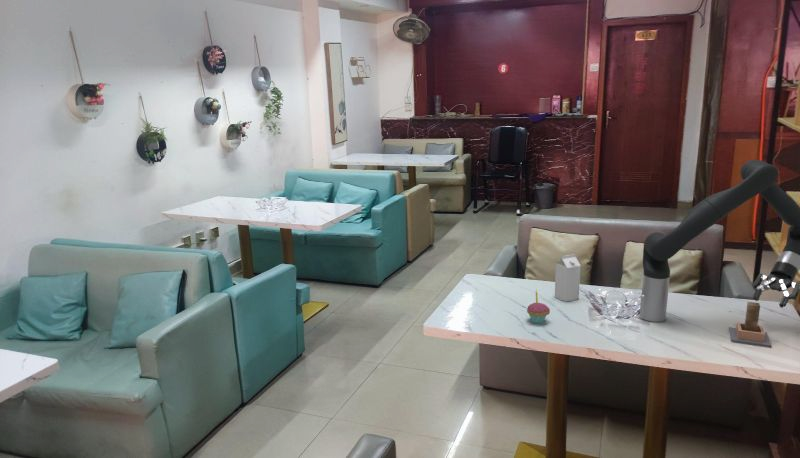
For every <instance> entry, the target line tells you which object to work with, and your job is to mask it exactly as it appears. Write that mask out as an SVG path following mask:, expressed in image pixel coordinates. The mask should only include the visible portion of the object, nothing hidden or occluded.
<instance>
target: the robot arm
mask: <svg viewBox="0 0 800 458" xmlns="http://www.w3.org/2000/svg"><path fill="white" fill-rule="evenodd" d="M779 176H780V175H779V170H778V168H777V167H775V166H774V165H773V164H771V163H768V162H766V161H764V160H760V159H750V160H747V161H746V162H745V163H744V164H743V165H742V166H741V167H740V178H741V179H742V181H741V182H739V183H737V184H736V185H734V186H733V187H730V188H728V189H725V190H722V191H719V192H716V193H713V194H711V195H709V196H707V197H705V198H704V199H702V200H701V201H699V202H698V203H696V204H695V206H693V207H692V208H690V210H689V212H687V214H686V216H685V217H684V219H682V221H681V222H680V223H679V224H678V225H677V226H676V227H674V228H673V229H672V230H670V231H669V232H666V233H665V234H664V233H662V232H652V233H650V234H649V235H647V237H645V240H644V241H643V242H644V243H643V251H642V267H643V277H642V285H641V286H642V287H641V297H640V307H639V319H641V320H645V321H647V322H653V323H662V322H665V321H666V318H667V309H668V308H667V307H668V297H669V288H670V277H671V267H670V265H669V259H671V258H673V257H674V256H675V255H677V253H678V252H679V251H681V250H682V249H683V248H684V247H685V246H686V245H687V244H689V243H690V242H692V241H693V240H694V239H695V238H697V237H698V236H699V235H701V234H702V233H704V232H705V231H706V230H708V229H709V228H711V227H712V226H714V225H716V224H717V223H718V222H719V221H721V220H722V219H724V218H725V217H726V216H727V215H729V214H730V213H731V212H733V211H735V210H736V209H737V208H738V207H740V206H741V205H743V204H745V203H746V202H748V201H749V200H751V199H752V198H755V197H756V196H757V195H761V197H762V198H763V199H764V200H765V201H766V202H767V203H768V204H769V206H770V207H771V209H773V211H775V213H776V214H777V215H778V216H779V217H780V219H781V220H782V221H783V222H784V223H785V224H786V225H788V229H787V237H786V243H785V246H784V247H783V248H782V251H781V253H780V255H779V256H778V257H777V259H776V261H775V263H774V265H773V267H772V269H771V270H770V274H768V275H767V276H766V275H763V273H759V274H758V276H757V277H756V278H755V280H754V282H753V283H752V287H753V289H754V290H755V291H754V293H753V299H754V301H756V302H757V301H759V299H760V297H761V295H762V293H763V292H765V291H769V290H772V291H777V292H783V294H784V295H783V296H782V298H781V300H780V302H779V307H780V308H782V309H784V307H787V304H788V302H789V301H790V300H795V301H796V300H797V298H798V296H799V294H800V282H799V281H796V282H794V281H795V278H796V276H797V274H798V272H799V270H800V206H799V204H798V203H797V202H796V201H795V200H794V198H792V197H791V196H790V195H789V194H787V192H786V191H784V189H782V188H781V187H780V186H778V184H777V183H776V182H777V181H778V179H779ZM762 282H763V283H762ZM790 288H793V289H792V292H791V293H789V291H788V289H790Z"/></svg>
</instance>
